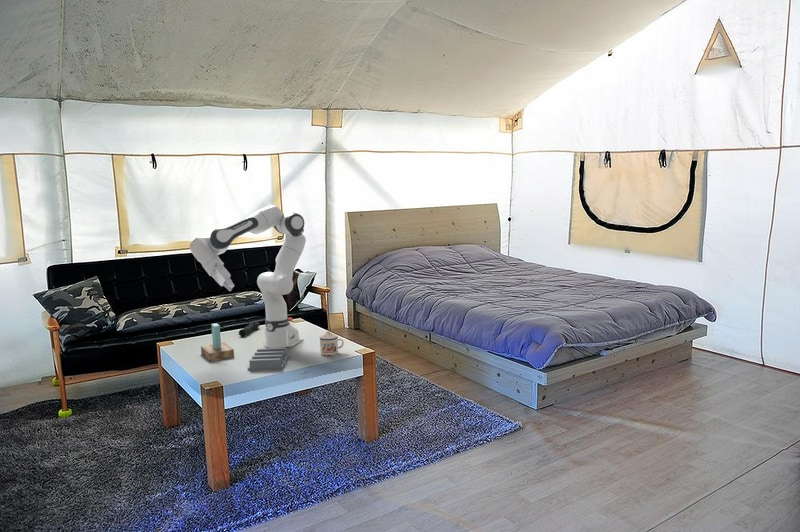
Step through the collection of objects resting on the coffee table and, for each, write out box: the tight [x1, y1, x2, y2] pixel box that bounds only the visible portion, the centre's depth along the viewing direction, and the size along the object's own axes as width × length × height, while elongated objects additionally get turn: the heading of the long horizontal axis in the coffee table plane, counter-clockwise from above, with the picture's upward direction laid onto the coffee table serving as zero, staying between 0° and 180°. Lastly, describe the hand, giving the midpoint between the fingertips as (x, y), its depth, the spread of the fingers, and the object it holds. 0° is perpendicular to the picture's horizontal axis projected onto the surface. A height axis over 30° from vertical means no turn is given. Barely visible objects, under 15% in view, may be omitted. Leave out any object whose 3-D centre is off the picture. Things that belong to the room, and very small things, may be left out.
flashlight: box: [238, 320, 260, 338], centre depth 341 cm, size 5×21×5 cm, turn 172°
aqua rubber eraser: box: [211, 322, 222, 350], centre depth 294 cm, size 2×6×12 cm, turn 33°
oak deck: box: [200, 342, 235, 362], centre depth 296 cm, size 12×16×4 cm
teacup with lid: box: [319, 330, 345, 357], centre depth 294 cm, size 12×9×12 cm
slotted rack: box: [247, 347, 289, 371], centre depth 281 cm, size 20×16×5 cm
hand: (232, 288), depth 288 cm, fingers open, 8 cm apart
